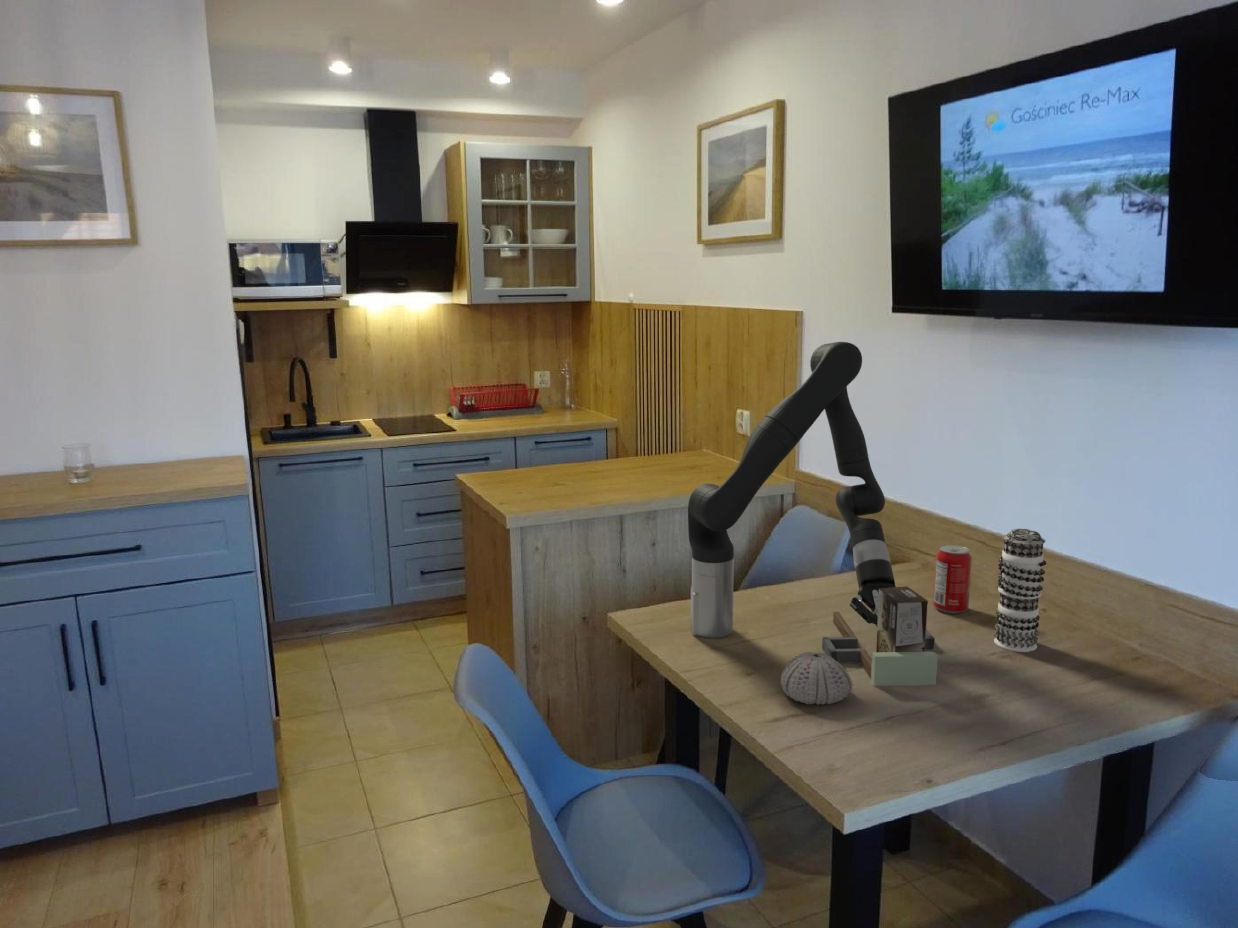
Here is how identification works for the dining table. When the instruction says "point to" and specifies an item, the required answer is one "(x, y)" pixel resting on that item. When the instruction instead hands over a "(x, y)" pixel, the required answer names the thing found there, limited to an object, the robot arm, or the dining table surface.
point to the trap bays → (854, 647)
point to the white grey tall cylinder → (1019, 590)
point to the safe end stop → (903, 668)
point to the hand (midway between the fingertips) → (887, 641)
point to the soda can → (952, 579)
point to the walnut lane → (847, 632)
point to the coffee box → (901, 620)
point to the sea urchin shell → (815, 679)
